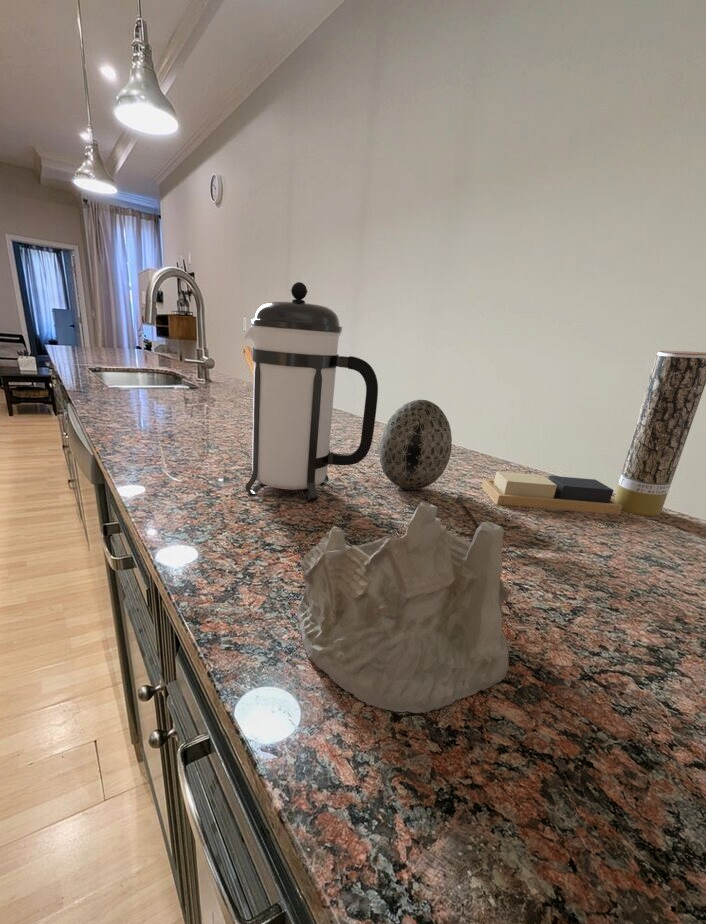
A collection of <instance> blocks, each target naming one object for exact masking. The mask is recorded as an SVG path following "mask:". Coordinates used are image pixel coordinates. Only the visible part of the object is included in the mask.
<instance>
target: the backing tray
mask: <svg viewBox="0 0 706 924" xmlns="http://www.w3.org/2000/svg"><path fill="white" fill-rule="evenodd" d="M494 480H495V479H492V478H491V479H488V478H483V479H482V483H481V488H482V490H483V491H484V492H485V493H486V494H487V495H488V496H489V498H491V499H492V501H493V502H494V504H496V505H498V506H510V507H523V508H535V509H545V510H546V509H547V510H556V511H557V510H558V511H569V512H570V511H571V512H582V513H593V514H605V515H619V516H620V515H621V512H622V510H621V509H622V507H623V506H622V505H620V504H619V503H617V502H616V501H614V499H612V498H611V500H610V502H609V503H600V502H588V501H576V500H564V499H552V498H540V497H529V496H517V495H505V494H502V493H501V492H500V491H499V490H498V489H497V488H496V487H495V486H494V485H493V484H494Z"/></svg>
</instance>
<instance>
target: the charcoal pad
mask: <svg viewBox="0 0 706 924" xmlns="http://www.w3.org/2000/svg"><path fill="white" fill-rule="evenodd" d="M547 479H549V480H550V481H552V482H553V483H555V484H556V485H557V488H556V491H555V495H554V498H553V499H564V500H576V501H588V502H600V503H609V502H610V500H611V499H612V497H613V493H614V492H615V491H614V489H613V488H611V487H610V486H608V485H606V484H604V483H602V482H601V481H599V480H597V479H596V478H595V479H594V478H581V477H569V476H559V475H548V477H547Z"/></svg>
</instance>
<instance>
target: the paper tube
mask: <svg viewBox="0 0 706 924" xmlns="http://www.w3.org/2000/svg"><path fill="white" fill-rule="evenodd" d="M705 387H706V351H705V352H704V351H692V350H691V351H687V350H658V351H657V353H656V355H655V358H654V361H653V366H652V369H651V372H650V376H649V378H648V382H647V386H646V389H645V392H644V395H643V399H642V402H641V406H640V409H639V413H638V416H637V419H636V423H635V426H634V429H633V433H632V437H631V440H630V442H629V443H630V444H629V447H628V450H627V453H626V457H625V460H624V464H623V468H622V470H621V473H620V477H619V480H618V485H617V488H616V491H615V494H614V495H615V496H614V499H613V500H614V501H616V502H617V503H619V504H620V505H622V506H623V507H622V509H621V511H624V512H626V513H629V514H634V515H637V516H643V517H657V516H659V515H660V514H661V513H662V511H663V508H664V505H665V503H666V499H667V497H668V493H669V492H670V489H671V485H672V482H673V479H674V477H675V474H676V471H677V468H678V466H679V462H680V459H681V456H682V454H683V451H684V448H685V445H686V442H687V439H688V436H689V433H690V430H691V429H692V424H693V422H694V419H695V415H696V413H697V410H698V408H699V405H700V401H701V399H702V395H703V392H704V390H705Z"/></svg>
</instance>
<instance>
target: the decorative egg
mask: <svg viewBox="0 0 706 924" xmlns="http://www.w3.org/2000/svg"><path fill="white" fill-rule="evenodd" d="M379 443H380V444H379V447H378V456H379V463H380V467H381V470H382V472H383V473H384V475H385V477H386V478H387V479H388V480H389V481H390V482H391V483H392V484H394V485H395V486H397V487H399V488H401V489H404V490H411V491H413V490H421V489H425V488H426V487H429V486H431V485H432V484H433V483H435V482H437V480H438V479H439V478H440V477H441V476H442V475H443V474H444V472H445V470H446V468H447V466H448V464H449V461H450V458H451V454H452V445H453V438H452V430H451V425H450V422H449V420H448V418H447V416H446V415H445V413H444V411H443V410H442V409H441V408H440V407H439V406H438V405H437V404H436V403H434V402H432V401H430V400H427V399H415V400H412V401H409V402H407V403H405V404H403V405H401V407H399V408H398V409H397V410H395V412H393V414H392V415H391V416H390V418H389V419H388V421H387V423H386V425H385V427H384V429H383V432H382V435H381V437H380V442H379Z"/></svg>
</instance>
